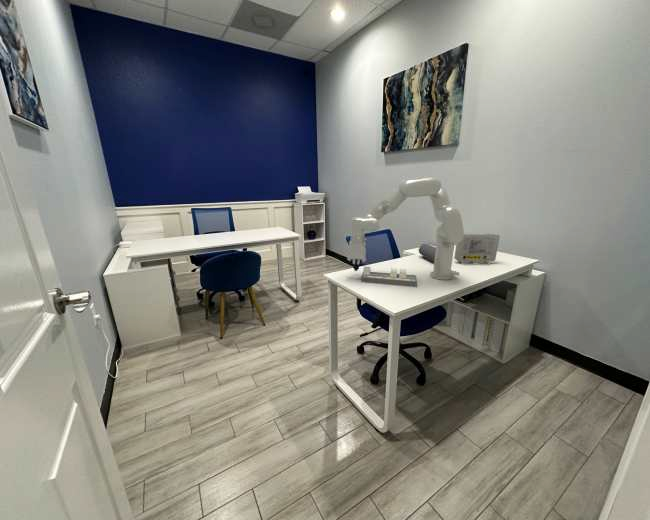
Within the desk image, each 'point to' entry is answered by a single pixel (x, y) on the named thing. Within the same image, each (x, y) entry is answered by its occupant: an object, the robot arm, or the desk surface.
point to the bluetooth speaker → (428, 252)
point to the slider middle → (393, 273)
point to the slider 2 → (402, 273)
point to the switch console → (389, 279)
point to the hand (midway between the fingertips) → (356, 270)
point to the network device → (477, 248)
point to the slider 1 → (366, 270)
